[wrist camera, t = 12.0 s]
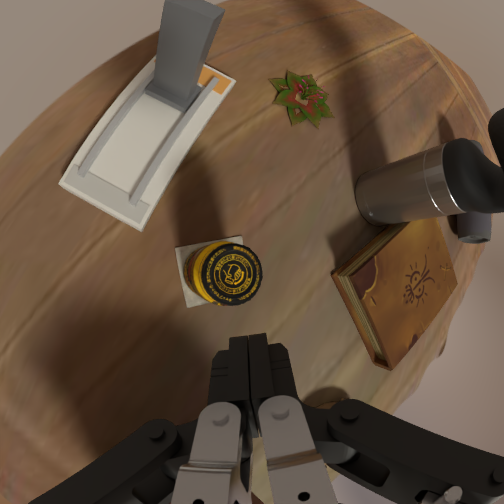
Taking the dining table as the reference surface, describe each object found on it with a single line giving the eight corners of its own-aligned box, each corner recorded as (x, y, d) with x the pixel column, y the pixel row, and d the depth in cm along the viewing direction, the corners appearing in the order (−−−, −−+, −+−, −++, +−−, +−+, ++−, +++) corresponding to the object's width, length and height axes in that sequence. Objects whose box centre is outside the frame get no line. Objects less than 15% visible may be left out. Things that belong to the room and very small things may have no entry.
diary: (371, 363, 44) (394, 372, 39) (328, 275, 42) (352, 276, 36) (437, 286, 51) (459, 287, 46) (408, 205, 48) (431, 201, 43)
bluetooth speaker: (441, 145, 54) (473, 134, 45) (459, 159, 57) (489, 150, 48) (446, 237, 52) (483, 234, 43) (464, 245, 55) (497, 242, 46)
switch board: (141, 232, 32) (141, 229, 30) (62, 188, 29) (55, 181, 26) (232, 88, 37) (238, 77, 34) (163, 53, 33) (165, 41, 31)
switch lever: (184, 113, 32) (212, 27, 17) (145, 93, 30) (153, 3, 16) (200, 92, 33) (235, 7, 18) (162, 73, 31) (180, -15, 16)
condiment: (174, 248, 34) (186, 240, 22) (241, 235, 37) (282, 223, 25) (186, 307, 34) (204, 329, 23) (251, 292, 37) (296, 304, 26)
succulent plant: (285, 138, 40) (300, 126, 36) (254, 74, 39) (265, 58, 34) (342, 126, 44) (359, 116, 39) (312, 69, 43) (326, 56, 38)
